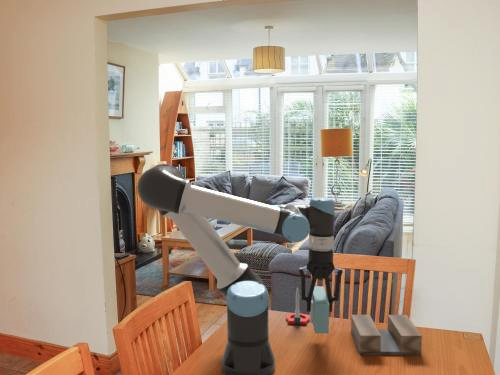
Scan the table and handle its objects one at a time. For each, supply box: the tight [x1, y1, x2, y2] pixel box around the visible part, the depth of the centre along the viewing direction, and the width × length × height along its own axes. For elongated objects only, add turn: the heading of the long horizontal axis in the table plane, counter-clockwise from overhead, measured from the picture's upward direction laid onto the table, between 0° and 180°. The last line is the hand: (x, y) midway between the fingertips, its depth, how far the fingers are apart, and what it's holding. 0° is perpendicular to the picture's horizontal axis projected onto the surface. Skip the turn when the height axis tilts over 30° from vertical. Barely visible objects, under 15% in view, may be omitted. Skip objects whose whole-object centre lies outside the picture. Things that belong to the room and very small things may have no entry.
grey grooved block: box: [350, 314, 423, 356], centre depth 150 cm, size 18×16×6 cm
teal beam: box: [312, 285, 330, 335], centre depth 149 cm, size 16×4×9 cm, turn 178°
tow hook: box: [285, 287, 310, 326], centre depth 169 cm, size 8×13×9 cm
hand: (318, 321), depth 150 cm, fingers closed on teal beam, 4 cm apart
